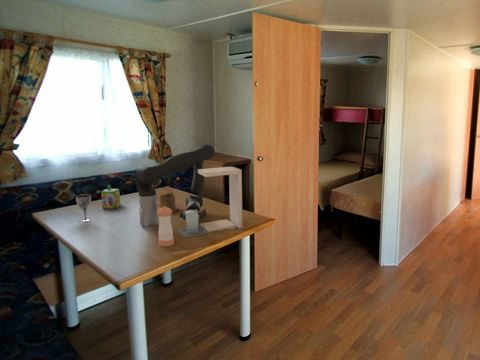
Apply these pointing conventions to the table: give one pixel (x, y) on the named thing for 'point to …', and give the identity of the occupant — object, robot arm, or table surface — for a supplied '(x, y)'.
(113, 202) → the decorated lidded jar
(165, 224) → the pepper shaker
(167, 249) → the table surface
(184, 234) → the tray
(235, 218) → the white c-shaped stand
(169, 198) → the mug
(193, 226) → the pale grey cylinder
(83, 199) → the wine glass
